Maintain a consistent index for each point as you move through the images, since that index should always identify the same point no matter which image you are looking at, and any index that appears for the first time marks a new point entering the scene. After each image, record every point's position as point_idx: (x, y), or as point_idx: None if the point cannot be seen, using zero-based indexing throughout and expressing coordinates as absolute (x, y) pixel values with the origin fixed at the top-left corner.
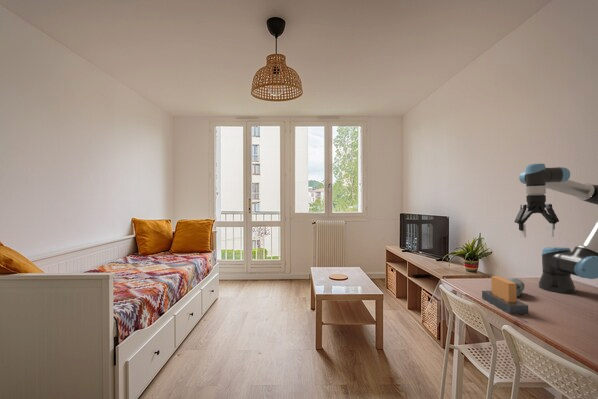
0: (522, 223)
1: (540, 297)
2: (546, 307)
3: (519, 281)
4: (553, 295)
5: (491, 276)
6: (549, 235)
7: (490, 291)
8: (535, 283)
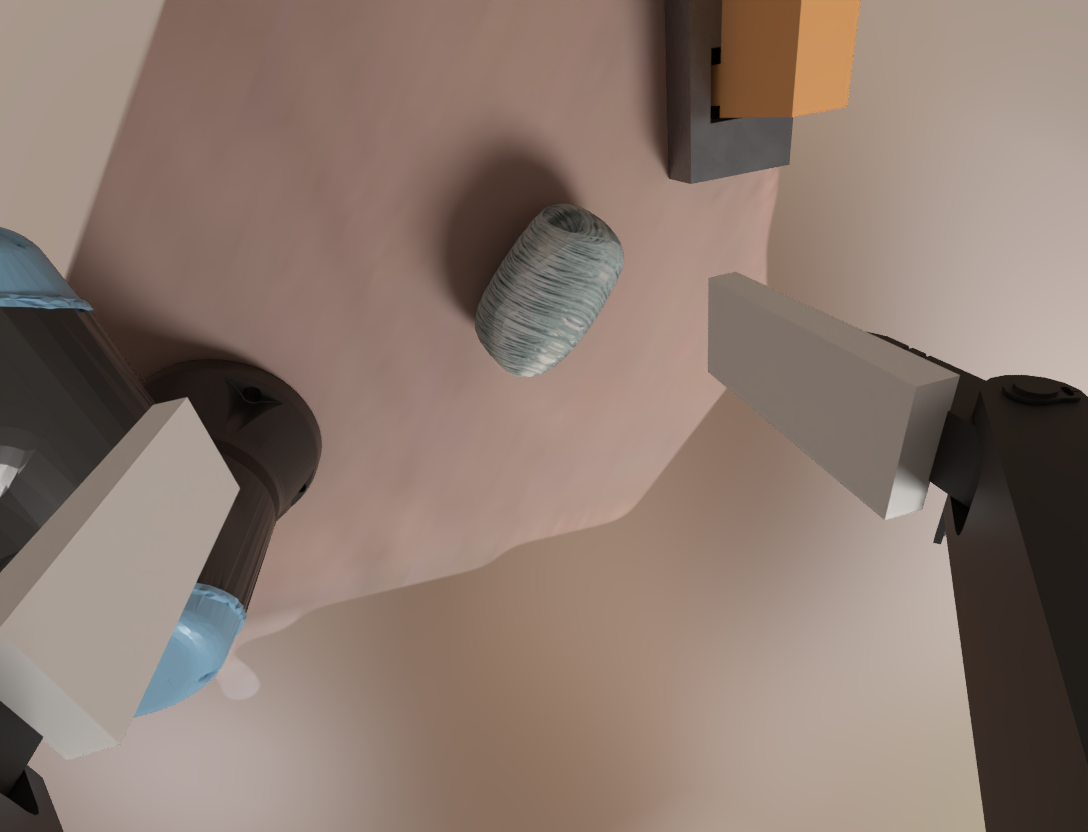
0: (1036, 379)
1: (404, 243)
2: (464, 22)
3: (533, 278)
4: (303, 301)
5: (846, 105)
6: (214, 461)
7: (748, 153)
8: (312, 516)
